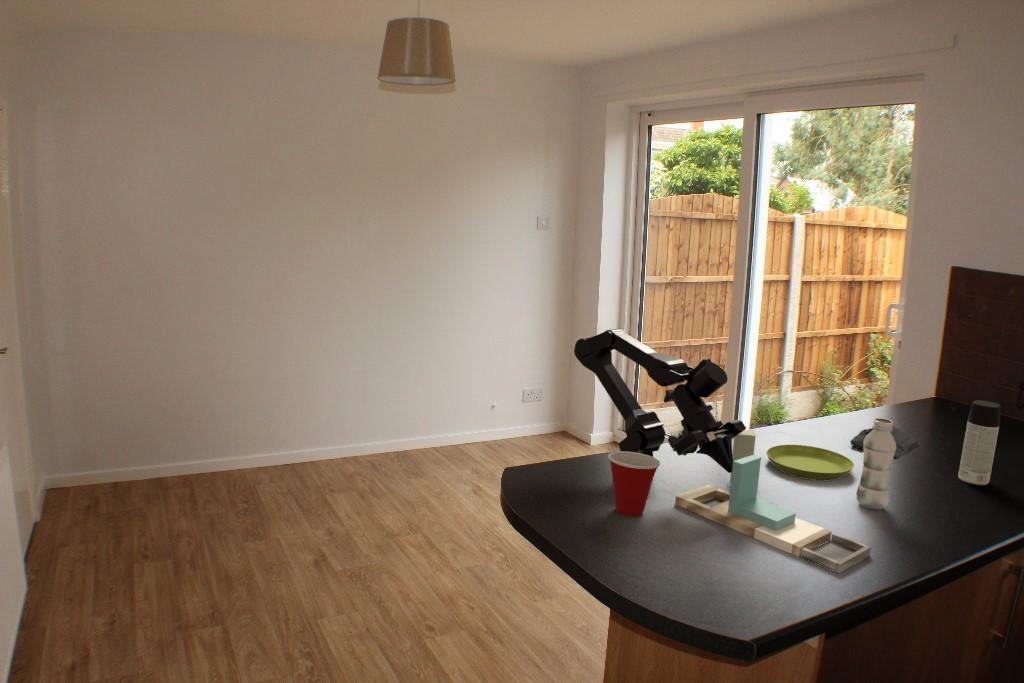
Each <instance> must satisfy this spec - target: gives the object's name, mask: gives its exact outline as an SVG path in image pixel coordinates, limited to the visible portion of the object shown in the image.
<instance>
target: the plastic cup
mask: <svg viewBox="0 0 1024 683" xmlns="http://www.w3.org/2000/svg"><path fill="white" fill-rule="evenodd" d="M608 460H609V463H610V470H611V478H612V479H611V480H612V491H613V497H614V498H613V499H614V508H615V511H616V513H617V514H619V515H621V516H625V517H630V518H633V517H640V516H641V515H643V513H644V511H645V508H646V503H647V500H648V497H649V493H650V491H651V486H652V483H653V479H654V477H655V474H656V472H657V469H658V468H659V467H660V465H661V461H660V460H659V459H657V457H655V456H653V457H651V456H649V455H645V454H641V453H635V452H624V451H613V452H611V453H608Z"/></svg>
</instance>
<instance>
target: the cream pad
mask: <svg viewBox="0 0 1024 683" xmlns="http://www.w3.org/2000/svg"><path fill="white" fill-rule="evenodd" d="M823 529H825V527H821V526H819V525H816V524H813V523H811V522H808V521H805V520H803V519H800V518H798V517H795V523H792V524H790V525H788V526H786V527H783V528H781V529H779V530H777V531H775V530H772V529H770V528H767V527H765V526H760V527H758V528H756V529H755V535H754V538H753V539H755V540H758V541H760V542H762V543H765V544H768V545H769V546H772V547H775V548H777V549H779V550H782V551H784V552H786V553H789V554H791V553H792V545H793V544H794V543H796V542H798V541H801V540H803V539H805V538H807V537H809V536H811V535H813V534H815V533H817V532H819V531H821V530H823Z"/></svg>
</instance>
